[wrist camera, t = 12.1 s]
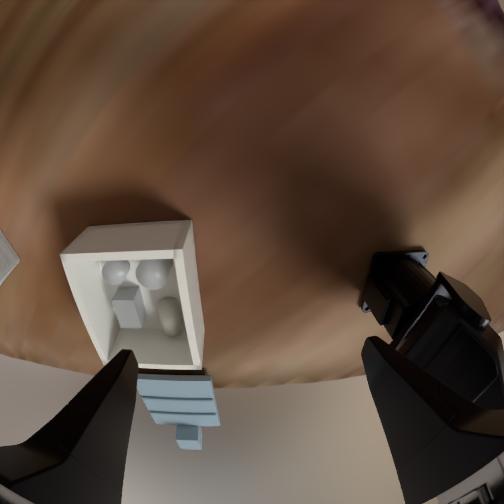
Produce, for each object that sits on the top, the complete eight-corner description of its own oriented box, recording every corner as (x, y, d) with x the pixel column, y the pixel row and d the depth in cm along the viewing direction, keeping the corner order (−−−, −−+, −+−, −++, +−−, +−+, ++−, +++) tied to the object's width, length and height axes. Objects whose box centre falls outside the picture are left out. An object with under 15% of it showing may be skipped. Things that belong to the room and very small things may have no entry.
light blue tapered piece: (134, 366, 28) (127, 395, 25) (211, 368, 29) (210, 398, 25) (163, 424, 35) (160, 447, 31) (222, 425, 36) (222, 449, 32)
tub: (88, 226, 20) (59, 254, 16) (192, 219, 21) (182, 249, 16) (117, 328, 25) (103, 364, 21) (204, 329, 26) (201, 369, 21)
